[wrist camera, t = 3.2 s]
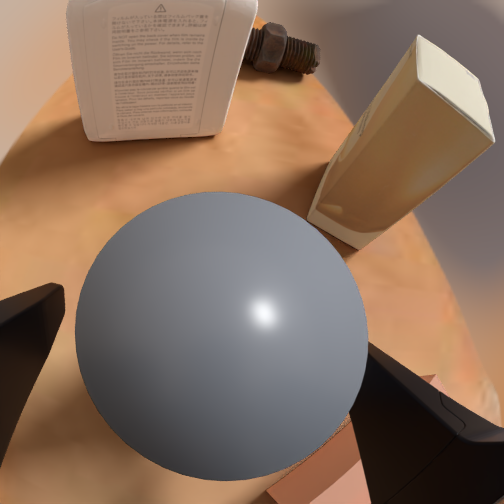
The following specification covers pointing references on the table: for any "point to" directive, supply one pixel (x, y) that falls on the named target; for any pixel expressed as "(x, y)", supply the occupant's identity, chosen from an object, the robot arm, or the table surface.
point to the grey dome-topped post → (221, 336)
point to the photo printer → (156, 65)
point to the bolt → (280, 50)
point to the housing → (331, 471)
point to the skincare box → (403, 146)
